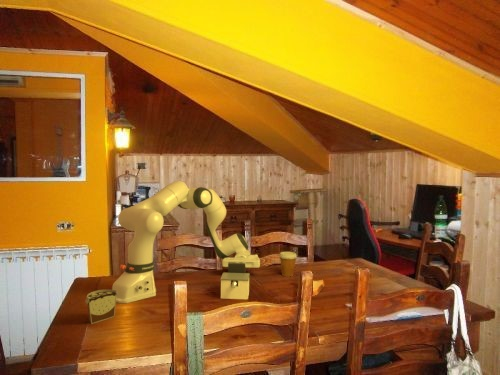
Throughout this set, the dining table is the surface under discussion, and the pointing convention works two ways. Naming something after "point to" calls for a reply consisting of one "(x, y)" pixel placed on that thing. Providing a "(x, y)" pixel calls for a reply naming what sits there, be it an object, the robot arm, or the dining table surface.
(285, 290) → the dining table surface
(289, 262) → the disposable coffee cup
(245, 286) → the block
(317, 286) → the slice of bread
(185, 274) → the dining table surface
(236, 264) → the plunger
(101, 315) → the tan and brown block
